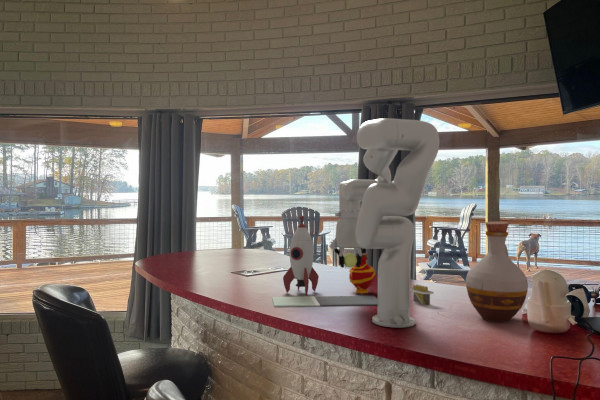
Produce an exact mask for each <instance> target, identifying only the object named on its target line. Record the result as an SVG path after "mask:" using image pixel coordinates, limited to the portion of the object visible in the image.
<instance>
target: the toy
mask: <svg viewBox="0 0 600 400" xmlns="http://www.w3.org/2000/svg"><path fill="white" fill-rule="evenodd" d="M299 220H300V223H299V224H298V226H297V228H296V230H295V231H294V234H293V236H292V239H291V241H290V248H289V261H290V262H289V264H290V267H289V268H288V270H287V271H286V272H285V273H284V275H283V277H282V281H283V285H284V286H283V287H284V289H285V293H286V294H288V293H289V292H290V291H291V283H292V282H293V281H294V280H296V281H297V282H296V284H295V287H297V290H298V291H299V290H300V288H304V293H305V294H304V295H305V297H308V293H309V283H310V282H311V290H312V291H313V292H316V289H317V286H318V283H319V274H318V273H317V271H316V270H315V269H314V266H313V265H314V246H313V245H314V241H312V236H311V234H310V233H309V230H308V228H307V226H306V224H304V222H303V221H304V220H305V216H304V215H300V216H299Z"/></svg>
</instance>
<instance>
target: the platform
mask: <svg viewBox="0 0 600 400" xmlns="http://www.w3.org/2000/svg"><path fill="white" fill-rule="evenodd" d="M410 292H413V302H417V303H420V304H421V305H428V306H430V305H431V295H434V294H435V293H434V291H432V290H431V291H430V290H429V287H428V286H425V285H420V284H415V285H414V284H413V285H412V287H410Z"/></svg>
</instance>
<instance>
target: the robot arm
mask: <svg viewBox="0 0 600 400" xmlns="http://www.w3.org/2000/svg"><path fill="white" fill-rule="evenodd" d="M356 143H357V146H359V148H361V149H363V150H366V151H365V154H364V155H363V158H362V161H363V164H364V166H365V167H366V168H367V169H368V170H369V171H370V172H371V173H373V174H375V175H377V177H376V179H364V178H363V179H357V178H356V179H349V180H346V181H341V182H340V183H339V189H338V191H339V193H338V195H339V196H338V198H339V204H338V205H339V206H338V207H339V209H338V211H337V212H335V213H334V214H335V215H334V216H335V217H337V218H338V220H337V221H336V225H335V226H336V227H335V238H334V239H333V240H332V241H331V243H330V245H329V246H328V247H329V248H330V249H331V250H332V251H334V252H335V254H337V256H338V265H339V266H340V268H345V265H344V256H345V255H344V252H345V249H355V251H356V255H355V256H356V258H357V263H356V267H360V265H361V256H362V254H363V253H364V254H365V253H366V251H367V250H376V249H377V250H378V249H379V250H381V249H383V251H382V253H381V254H380V257H379V258H378V263H377V299H378V305H376V307H377V309H376V310H377V314H375V315H373V316H372V317H371V319H372V320H371V322H372V323H373V324H375V325H377V326H380V327H387V328H397V329H398V328H399V329H400V328H411V327H413V326H414V325H416V319H415V318H414V317H413V316H411V291H410V288H411V271H412V270H411V269H412V268H411V266H412V265H411V263H412V250H413V245H414V239H415V225H414V223H413V222H412V221H411V220H410V219H409V218H407V216H411V215H413V214H415V213H416V211H417V209H418V207H419V203H420V200H421V197H422V195H423V191H424V187H425V184H426V181H427V177H428V174H429V172H430V171H431V168H432V166H433V164H434V162H435V160H436V158H437V155H438V153H439V148H440V134H439V131H438V129H437V128H436V126H435V125H433V124H432V123H429V122H428V121H423V120H418V119H405V118H404V119H403V118H390V117H389V118H388V117H387V118H385V117H384V118H376V119H370V120H367V121H365V122H362V124H361V125H360V126H359V128H358V130H357V133H356ZM399 151H410V153H409V154H407V155H406V156H405V157H404V158H403V159H402V160H401V161H400V162H399V164H398V166H397V167H396V170H395V174H394V177H393V180H392V174H391V169H390V168H389V167H390V165H391V163H392V161H393V160H394V159H395V156H396V155H397V154H398V152H399Z"/></svg>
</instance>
